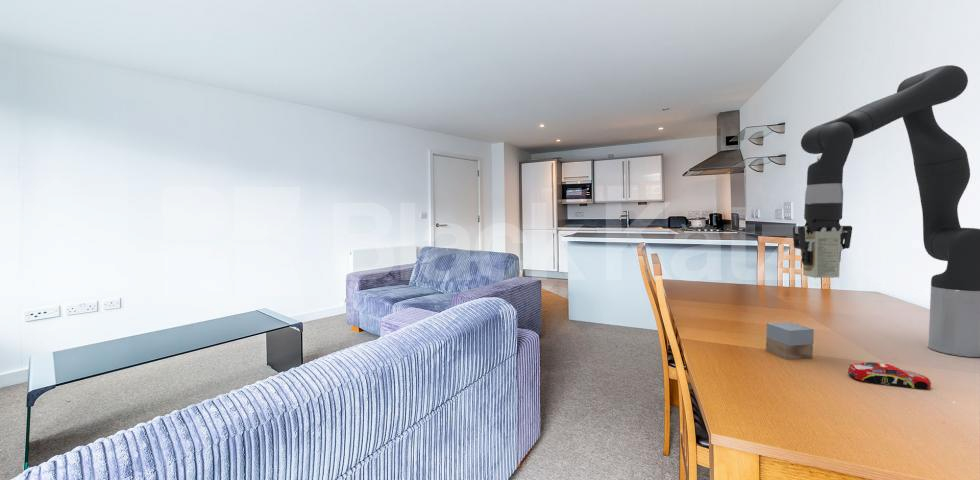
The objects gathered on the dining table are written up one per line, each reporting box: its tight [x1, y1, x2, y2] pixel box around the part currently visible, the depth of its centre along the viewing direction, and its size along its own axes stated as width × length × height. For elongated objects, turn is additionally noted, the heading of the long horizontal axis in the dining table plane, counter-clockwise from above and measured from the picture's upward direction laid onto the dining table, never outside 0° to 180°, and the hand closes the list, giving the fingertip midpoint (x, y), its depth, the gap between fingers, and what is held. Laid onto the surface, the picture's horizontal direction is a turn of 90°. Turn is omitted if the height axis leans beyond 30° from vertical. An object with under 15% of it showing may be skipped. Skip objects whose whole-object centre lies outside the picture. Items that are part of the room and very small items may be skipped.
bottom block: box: [765, 336, 814, 360], centre depth 102 cm, size 7×7×4 cm
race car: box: [847, 361, 932, 391], centre depth 84 cm, size 13×5×4 cm, turn 65°
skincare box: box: [802, 231, 841, 279], centre depth 100 cm, size 6×4×12 cm
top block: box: [766, 321, 815, 346], centre depth 102 cm, size 7×7×4 cm
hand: (820, 264), depth 100 cm, fingers closed on skincare box, 6 cm apart
